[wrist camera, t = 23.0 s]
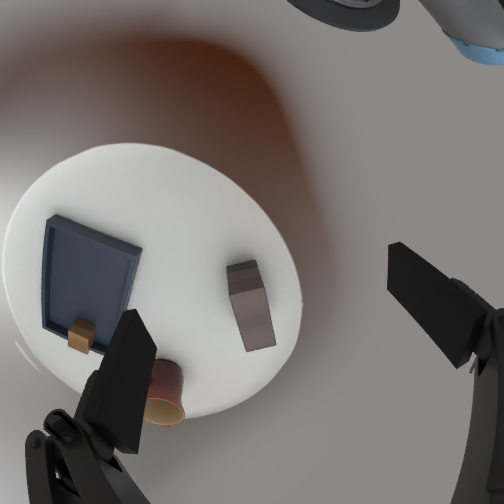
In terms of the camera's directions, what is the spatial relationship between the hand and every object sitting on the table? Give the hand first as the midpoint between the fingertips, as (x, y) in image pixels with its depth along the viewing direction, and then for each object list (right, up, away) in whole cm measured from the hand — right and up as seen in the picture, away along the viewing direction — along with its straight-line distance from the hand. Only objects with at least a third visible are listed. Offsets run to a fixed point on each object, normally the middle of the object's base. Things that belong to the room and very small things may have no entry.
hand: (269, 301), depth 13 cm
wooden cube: (-30, -11, +27) cm, 43 cm away
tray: (-28, -4, +26) cm, 38 cm away
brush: (-1, -4, +29) cm, 30 cm away
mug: (-18, -22, +35) cm, 45 cm away
